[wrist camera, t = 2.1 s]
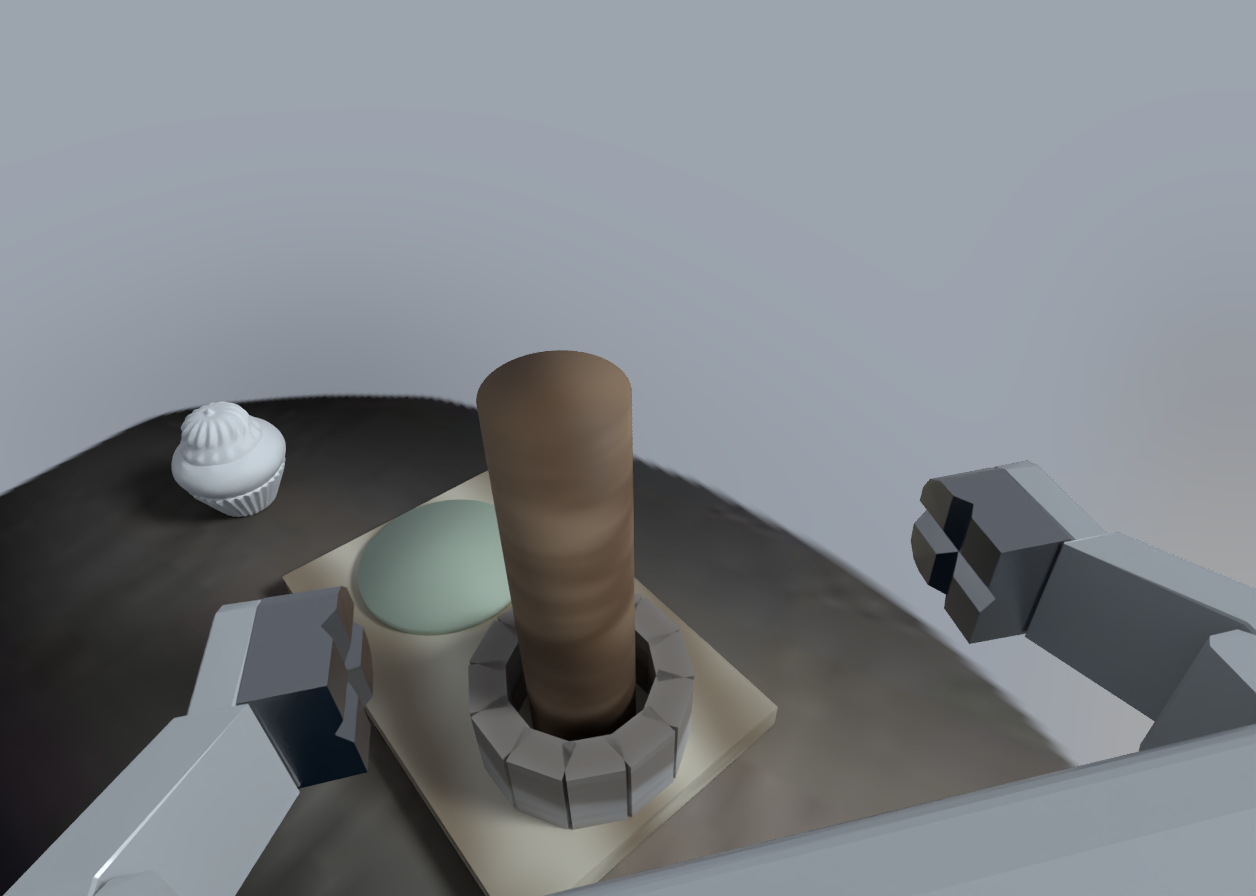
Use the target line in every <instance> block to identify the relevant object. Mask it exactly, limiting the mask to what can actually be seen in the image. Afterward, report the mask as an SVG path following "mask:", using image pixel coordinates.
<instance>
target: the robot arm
mask: <svg viewBox="0 0 1256 896" xmlns="http://www.w3.org/2000/svg"><path fill="white" fill-rule="evenodd" d="M920 501H921V503H922V504H923V505H924V506H925V508H926V509H927V510H926V511H925V512H924V513H923V514H922V516H921V517H920V518H919V519H918V520H917V521H916V522H915V523H914V527H913V532H912V538H911V544H912V550H913V557H914V560H915V563H916V565H917V568H918V570H919V572H920V573H921V575H922V576H923V578H924V579H925V581H926V582H927V584H928V585H929V586H931V587H933V588H935V589H937V590H939V591H941V592H942V593H944V594H946V599H945V607H944V609H945V610H946V611H947V613H948V614H949V616H950V617H951V618H952V620H953V621H954V623H955V624H956V626H957V627H958V628H959V630H960V631H961V633H962V634H963V636H964V637H965V638H966V640H967V641H968V643H969V644H971V643H976V642H982V641H988V640H993V639H998V638H1004V637H1009V636H1015V635H1020V634H1025V633H1026V635H1025V637H1026V638H1028V639H1029V640H1031V641H1033V642H1034V643H1035V644H1037V645H1038V646H1040V647H1042V648H1043V649H1045V650H1046V651H1048V652H1049V653H1051V654H1052V655H1054V656H1056V657H1057V658H1058V659H1060V660H1062V661H1063V662H1065V663H1066V664H1068V665H1069V666H1071V667H1072V668H1074V669H1075V670H1077V671H1078V672H1080V673H1082V674H1083V675H1085V676H1086V677H1088V678H1089V679H1091V680H1092V681H1094V682H1095V683H1097V684H1098V685H1100V686H1101V687H1103V688H1104V689H1106V690H1108V691H1109V692H1111V693H1112V694H1114V695H1115V696H1117V697H1118V698H1120V699H1122V700H1123V701H1125V702H1126V703H1127V704H1129V705H1131V706H1132V707H1134V708H1135V709H1137V710H1138V711H1140V712H1141V713H1143V714H1144V715H1146V716H1147V717H1149V718H1150V719H1152V720H1154V721H1155V722H1154V724H1153V726H1152V727H1151V729H1150V730H1149V732H1148V733H1147V735H1146V737H1145V738H1144V740H1143V741H1142V743H1141V744H1140V748H1139V752H1136V753H1131V754H1127V755H1123V756H1119V757H1115V758H1111V759H1107V760H1102V761H1098V762H1094V763H1090V764H1086V765H1082V766H1077V767H1073V768H1069V769H1065V770H1061V771H1057V772H1053V773H1048V774H1044V775H1040V776H1036V777H1032V778H1028V779H1024V780H1019V781H1015V782H1011V783H1007V784H1003V785H999V786H994V787H990V788H986V789H982V790H978V791H974V792H970V793H965V794H961V795H957V796H953V797H949V798H945V799H941V800H936V801H932V802H928V803H924V804H920V805H916V806H911V807H907V808H903V809H899V810H895V811H891V812H887V813H882V814H878V815H874V816H870V817H866V818H862V819H857V820H853V821H849V822H845V823H841V824H837V825H833V826H828V827H824V828H820V829H816V830H812V831H808V832H804V833H799V834H795V835H791V836H787V837H783V838H779V839H775V840H771V841H766V842H762V843H758V844H754V845H750V846H746V847H742V848H738V849H733V850H729V851H725V852H721V853H717V854H713V855H709V856H704V857H700V858H696V859H692V860H688V861H684V862H680V863H676V864H671V865H667V866H663V867H659V868H655V869H651V870H647V871H643V872H638V873H634V874H630V875H626V876H622V877H618V878H614V879H609V880H605V881H601V882H597V883H593V884H589V885H585V886H580V887H576V888H572V889H568V890H564V891H560V892H556V893H552V894H547V895H543V896H1256V589H1255V588H1253V587H1250V586H1248V585H1245V584H1243V583H1241V582H1238V581H1236V580H1233V579H1231V578H1229V577H1226V576H1224V575H1221V574H1219V573H1216V572H1214V571H1211V570H1209V569H1207V568H1204V567H1202V566H1199V565H1197V564H1195V563H1192V562H1190V561H1187V560H1185V559H1182V558H1180V557H1178V556H1175V555H1173V554H1170V553H1168V552H1166V551H1163V550H1161V549H1158V548H1156V547H1153V546H1151V545H1148V544H1146V543H1144V542H1141V541H1139V540H1137V539H1134V538H1131V537H1129V536H1127V535H1124V534H1122V533H1120V532H1115V533H1109V534H1108V533H1107V532H1106V531H1105V530H1104V529H1103V528H1102V527H1101V526H1100V525H1099V524H1098V523H1097V522H1096V521H1095V520H1094V519H1093V518H1091V517H1090V515H1089V514H1087V512H1085V511H1084V510H1083V509H1082V508H1081V507H1080V506H1079V505H1078V504H1077V503H1076V502H1075V501H1074V500H1073V499H1072V498H1071V497H1070V496H1069V495H1068V494H1067V493H1066V492H1065V491H1064V490H1063V489H1062V488H1061V487H1060V486H1059V485H1058V484H1057V483H1056V482H1055V481H1054V480H1053V479H1052V478H1051V477H1050V476H1048V474H1047V473H1046V472H1045V471H1044V470H1043V469H1041V467H1039V466H1038V465H1037V464H1035V463H1032V462H1030V461H1028V460H1027V461H1022V462H1017V463H1012V464H1006V465H1001V466H996V467H994V468H986V469H981V470H975V471H970V472H965V473H960V474H955V475H949V476H944V477H939V478H933V479H930V480H929V481H928V482H927V483H926V484H925V486H924V487H923V490H922V495H921V498H920ZM353 615H354V603H353V600H352V598H351V596H350V594H349V591H348V589H347V587H344V586H338V587H331V588H325V589H319V590H312V591H306V592H300V593H293V594H287V595H280V596H274V597H268V598H263V599H261V600H254V601H248V602H241V603H234V604H228V605H222V607H221V608H220V609H219V610H218V612H217V613H216V614H215V616H214V619H213V622H212V626H211V629H210V633H209V636H208V640H207V644H206V647H205V651H204V654H203V658H202V661H201V665H200V669H199V672H198V676H197V679H196V683H195V686H194V690H193V694H192V697H191V701H190V704H189V708H188V712H187V715H186V716H182V717H177V718H173V719H172V720H171V721H170V723H169V724H168V725H167V726H166V727H165V728H164V729H163V730H162V731H161V732H160V733H159V734H158V735H157V736H156V737H155V738H154V739H153V740H152V741H151V742H150V743H149V744H148V745H147V746H146V747H145V749H144V750H143V751H142V752H141V753H140V754H139V755H138V756H137V757H136V758H135V759H134V760H133V761H132V762H131V763H130V764H129V765H128V766H127V767H126V768H125V769H124V770H123V771H122V772H121V774H120V775H119V776H118V777H117V778H116V779H115V780H114V781H113V782H112V783H111V784H110V785H109V786H108V787H107V788H106V789H105V790H104V791H103V792H102V793H101V794H100V795H99V796H98V797H97V798H96V800H95V801H94V802H93V803H92V804H91V805H90V806H89V807H88V808H87V809H86V810H85V811H84V812H83V813H82V814H81V815H80V816H79V817H78V818H77V819H76V820H75V821H74V822H73V823H72V824H71V826H70V827H69V828H68V829H67V830H66V831H65V832H64V833H63V834H62V835H61V836H60V837H59V838H58V839H57V840H56V841H55V842H54V843H53V844H52V845H51V846H50V847H49V848H48V849H47V850H46V852H45V853H44V854H43V855H42V856H41V857H40V858H39V859H38V860H37V861H36V862H35V863H34V864H33V865H32V866H31V867H30V868H29V869H28V870H27V871H26V872H25V873H24V874H23V875H22V876H21V878H20V879H19V880H18V881H17V882H16V883H15V884H14V885H13V886H12V887H11V888H10V889H9V890H8V891H7V892H6V893H5V894H4V895H3V896H235V895H236V893H237V891H238V890H239V888H240V887H241V885H242V884H243V882H244V880H245V879H246V877H247V876H248V874H249V872H250V871H251V869H252V868H253V866H254V864H255V863H256V861H257V860H258V858H259V857H260V855H261V853H262V852H263V850H264V849H265V847H266V845H267V844H268V842H269V841H270V839H271V837H272V836H273V834H274V833H275V831H276V829H277V828H278V826H279V825H280V823H281V822H282V820H283V818H284V817H285V815H286V814H287V812H288V810H289V809H290V807H291V806H292V804H293V802H294V801H295V799H296V798H297V796H298V795H299V793H300V792H299V790H298V789H299V788H303V787H307V786H312V785H316V784H320V783H324V782H328V781H332V780H337V779H341V778H345V777H349V776H353V775H357V774H362V773H366V772H368V760H369V745H370V730H371V725H370V723H369V720H368V718H367V716H366V713H365V711H364V707H365V705H366V704H367V703H368V701H369V700H370V699H371V698H372V696H373V667H372V655H371V651H370V647H369V642H368V639H367V636H366V633H365V631H364V628H363V627H362V626H360V625H359V624H357V623H355V622H353Z"/></svg>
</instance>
